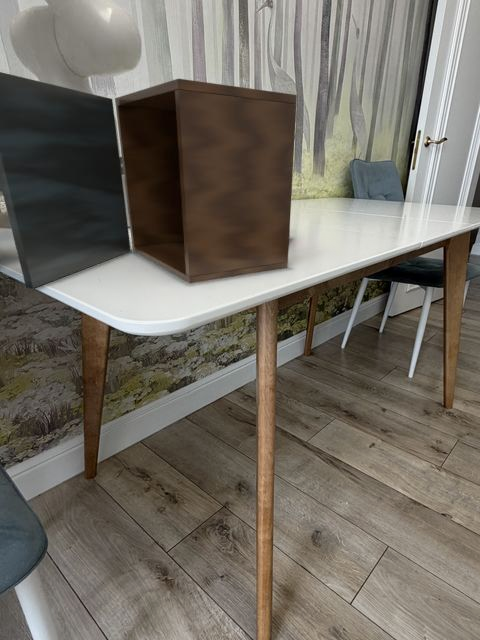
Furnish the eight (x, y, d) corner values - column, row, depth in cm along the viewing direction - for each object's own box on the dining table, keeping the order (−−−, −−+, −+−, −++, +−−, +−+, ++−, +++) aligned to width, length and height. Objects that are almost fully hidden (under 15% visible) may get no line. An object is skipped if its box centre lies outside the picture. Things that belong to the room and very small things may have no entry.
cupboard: (189, 284, 50) (177, 78, 41) (132, 251, 66) (114, 98, 57) (287, 268, 59) (297, 94, 49) (216, 242, 75) (212, 108, 65)
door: (-15, 283, 48) (-78, 68, 38) (95, 248, 67) (71, 98, 58) (32, 288, 47) (-21, 66, 37) (131, 251, 66) (112, 98, 56)
